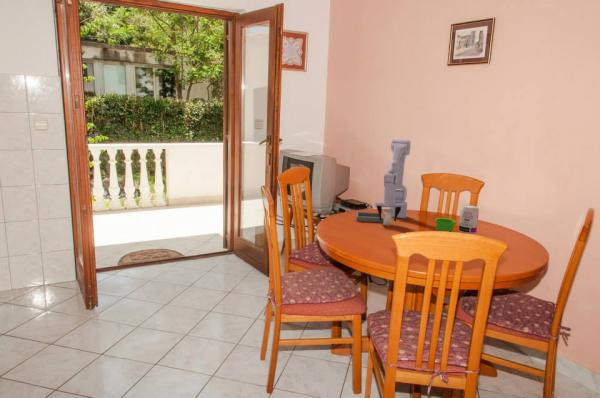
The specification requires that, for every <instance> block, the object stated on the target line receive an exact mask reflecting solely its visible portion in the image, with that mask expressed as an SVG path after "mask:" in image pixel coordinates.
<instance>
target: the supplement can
mask: <svg viewBox="0 0 600 398" xmlns="http://www.w3.org/2000/svg"><path fill="white" fill-rule="evenodd" d="M479 213H480V210H479V207H478V206H476V205H471V204H464V205H462V206H461V208H460V213H459V223H458V229H457V231H458V232H462V233H469V234H476V235H477V229H478V223H479V221H478V220H479ZM458 232H457V233H458Z"/></svg>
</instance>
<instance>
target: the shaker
mask: <svg viewBox="0 0 600 398" xmlns="http://www.w3.org/2000/svg"><path fill="white" fill-rule="evenodd" d="M392 221H393V217H392V209H390V208H384V211H383V223H382V225H384V226H392Z"/></svg>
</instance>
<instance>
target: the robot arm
mask: <svg viewBox="0 0 600 398" xmlns="http://www.w3.org/2000/svg"><path fill="white" fill-rule="evenodd" d="M390 143H391V144H390V149H391V152H392V159H391V161H390V162H389V163H388V166H387V167H388V168H387V171H386V172H385V173H384V176H383V187H384V191H383V192H384V193H383V202H374V207H375V208H376V210H377V213H379V220H380V221H381V214H382V212H383V209H382V208H389V209H392V218H393V222H396V221H397V218H398V219H406V218H407V209H408V202H407V201H406V200H407V197H408V195H407V194H408V193H407V191H408V188H407V187H406V186H405V185H404V184H403V182H404V173H405V161H406V157H407V156H409V155H410V152H411V141H410V140H404V139H392V140H391V142H390Z"/></svg>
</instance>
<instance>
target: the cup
mask: <svg viewBox="0 0 600 398" xmlns="http://www.w3.org/2000/svg"><path fill="white" fill-rule="evenodd" d="M434 221H435V232H436V231H449V232H452V233H453V232H454V231H453V230H454V228H455V225H456V224H455V223H456V220H454V219H451V218H444V217H437V218H435V219H434Z"/></svg>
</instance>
